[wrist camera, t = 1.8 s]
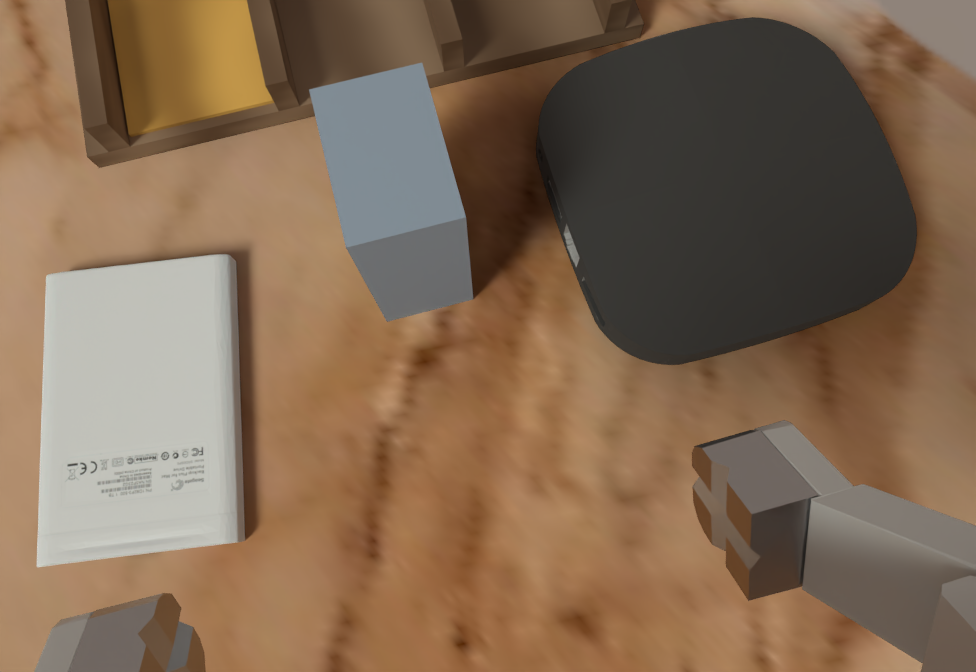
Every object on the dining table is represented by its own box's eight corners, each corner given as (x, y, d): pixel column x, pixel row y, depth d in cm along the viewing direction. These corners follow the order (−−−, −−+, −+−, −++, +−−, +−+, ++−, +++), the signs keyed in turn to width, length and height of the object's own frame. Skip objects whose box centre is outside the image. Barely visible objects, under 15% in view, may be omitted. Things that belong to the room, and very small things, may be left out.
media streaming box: (916, 296, 32) (959, 274, 29) (613, 389, 31) (626, 376, 28) (789, 32, 35) (816, -11, 32) (514, 108, 34) (516, 70, 31)
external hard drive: (241, 265, 32) (250, 541, 29) (64, 285, 32) (54, 565, 29) (228, 252, 31) (236, 542, 28) (42, 273, 31) (29, 568, 28)
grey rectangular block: (440, 182, 33) (421, 62, 24) (473, 299, 31) (465, 217, 23) (358, 202, 33) (309, 89, 24) (387, 321, 31) (346, 247, 22)
